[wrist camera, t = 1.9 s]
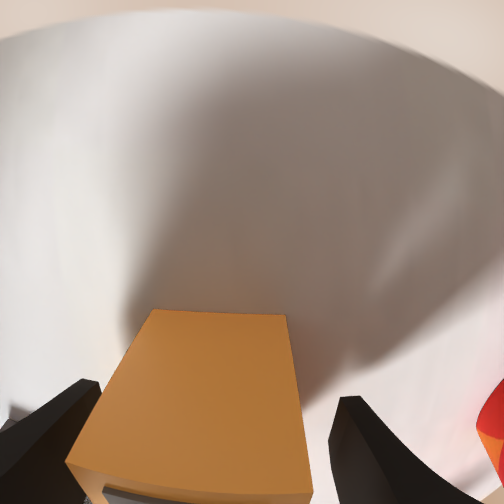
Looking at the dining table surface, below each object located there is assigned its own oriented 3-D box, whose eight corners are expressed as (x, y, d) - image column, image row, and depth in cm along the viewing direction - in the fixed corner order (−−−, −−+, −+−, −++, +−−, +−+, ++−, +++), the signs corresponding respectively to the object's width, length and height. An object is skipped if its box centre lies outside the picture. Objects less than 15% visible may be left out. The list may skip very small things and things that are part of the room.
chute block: (171, 427, 11) (136, 560, 5) (153, 308, 9) (61, 467, 4) (273, 433, 11) (279, 574, 5) (285, 314, 9) (314, 499, 4)
